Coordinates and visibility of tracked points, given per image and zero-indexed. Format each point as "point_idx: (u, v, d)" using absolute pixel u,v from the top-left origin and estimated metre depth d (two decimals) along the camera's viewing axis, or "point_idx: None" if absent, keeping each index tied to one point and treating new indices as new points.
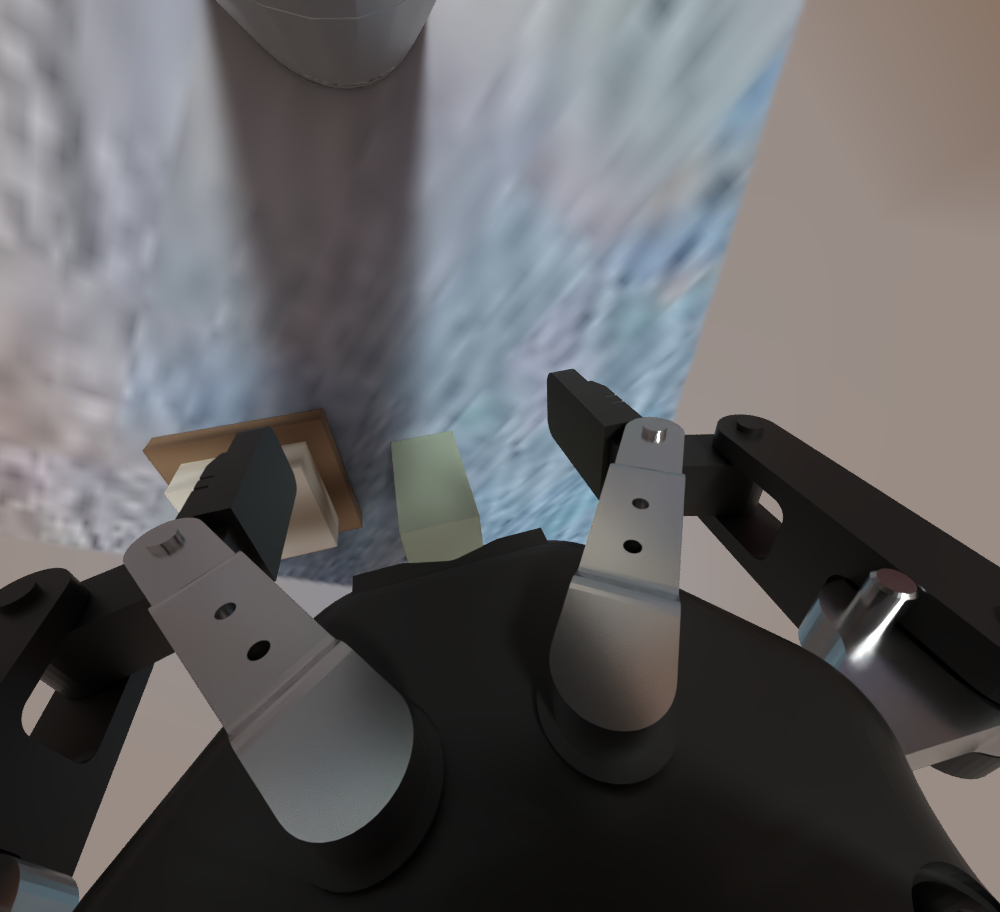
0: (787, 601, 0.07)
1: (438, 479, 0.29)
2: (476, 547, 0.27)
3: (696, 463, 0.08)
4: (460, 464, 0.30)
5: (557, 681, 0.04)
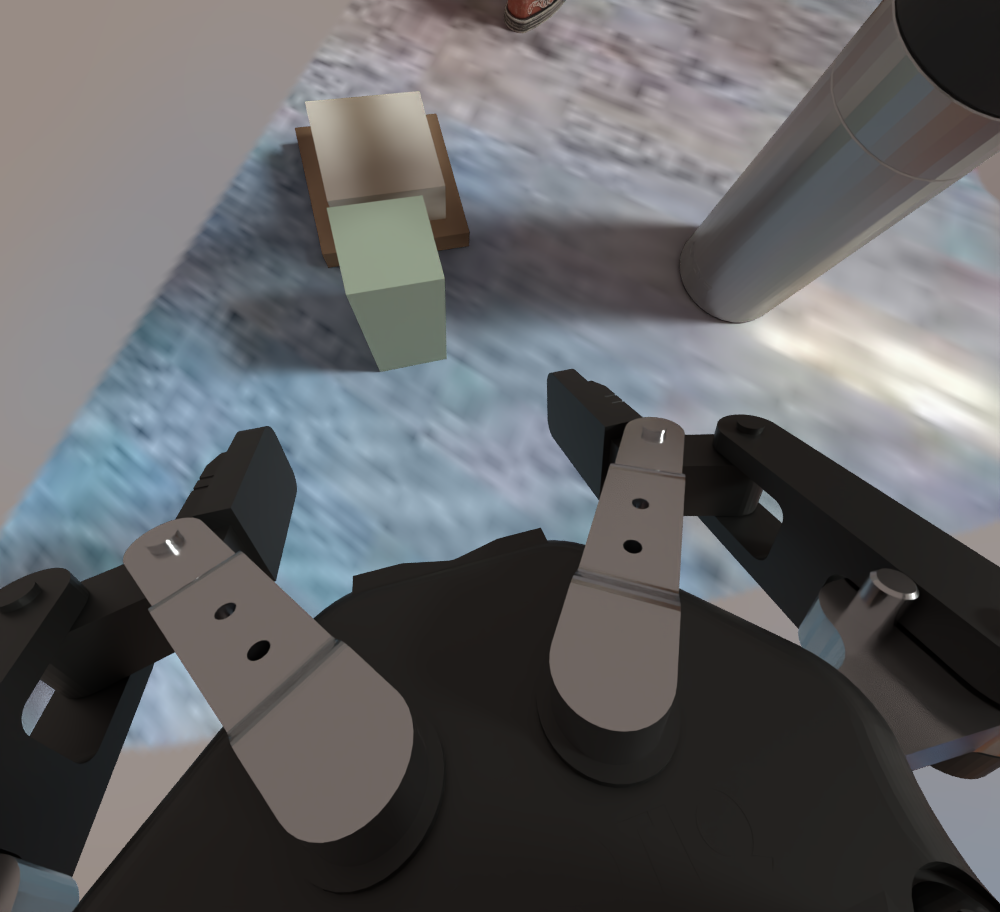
0: (787, 601, 0.07)
1: None
2: (386, 279, 0.21)
3: (696, 463, 0.08)
4: None
5: (557, 681, 0.04)
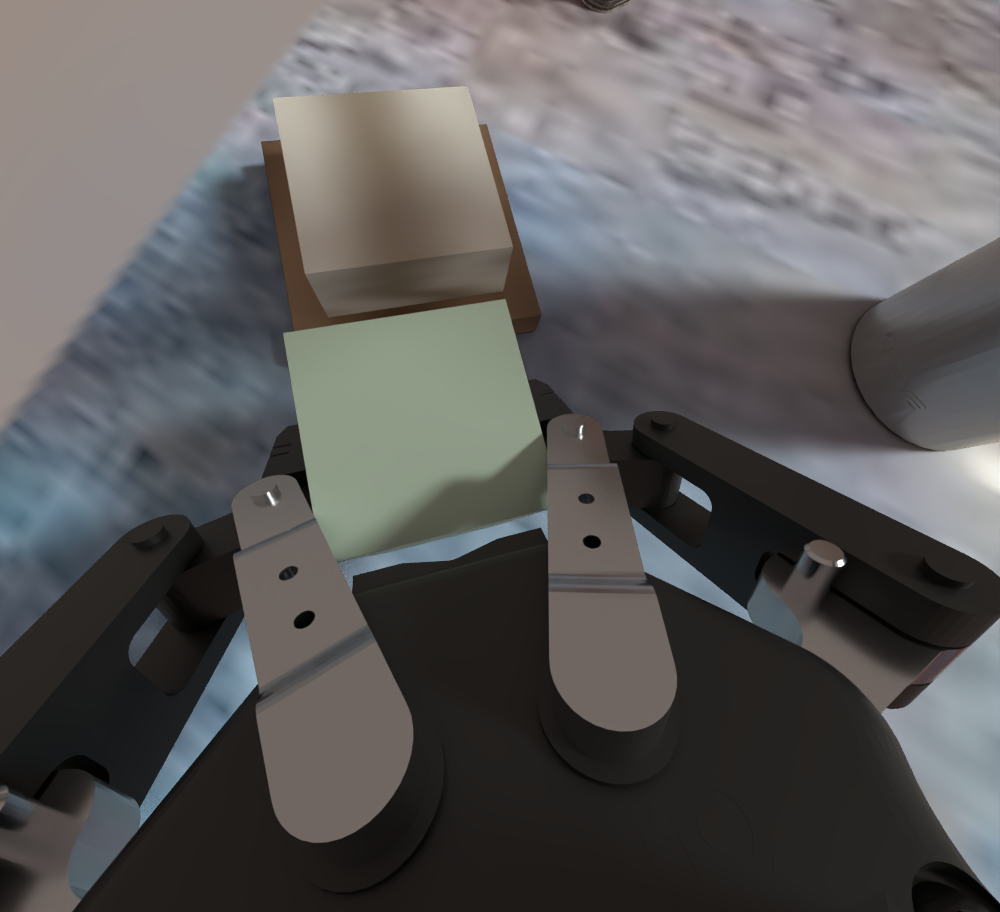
0: (726, 581, 0.08)
1: None
2: (423, 517, 0.08)
3: (613, 457, 0.09)
4: None
5: (557, 681, 0.04)
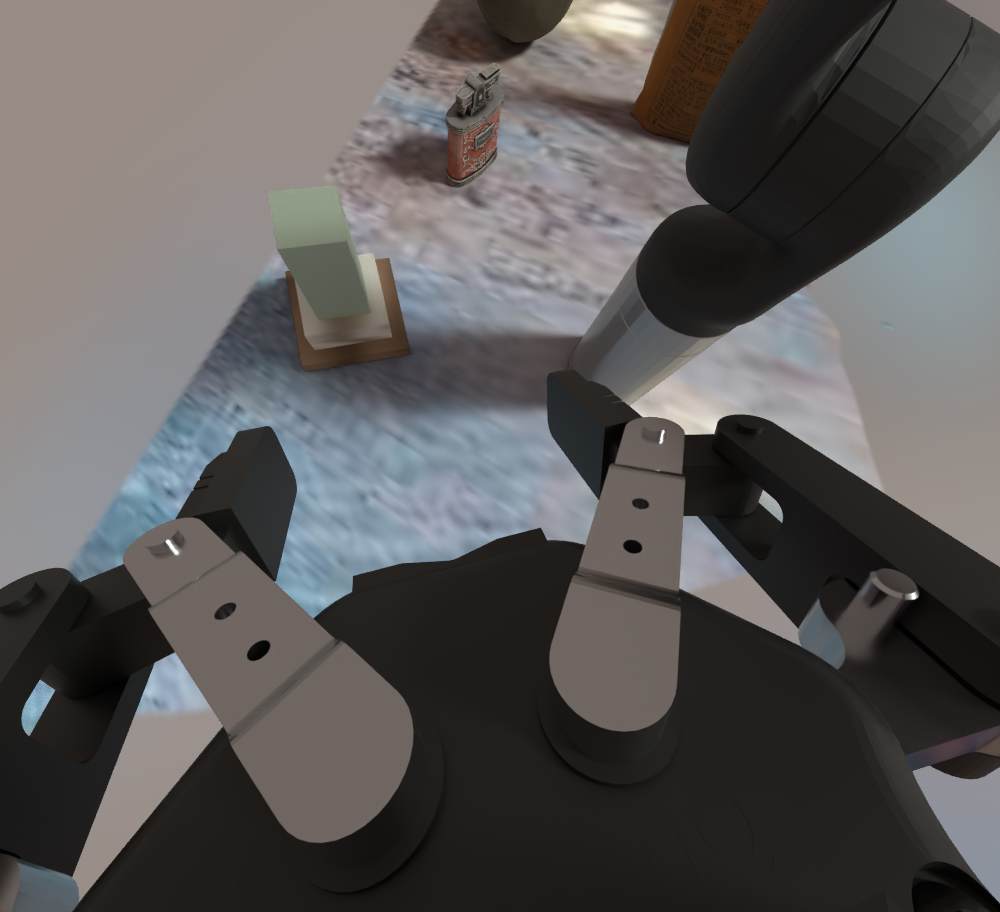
0: (787, 601, 0.07)
1: (354, 257, 0.35)
2: (305, 240, 0.30)
3: (696, 463, 0.08)
4: (361, 283, 0.36)
5: (557, 681, 0.04)
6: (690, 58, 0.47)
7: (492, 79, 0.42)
